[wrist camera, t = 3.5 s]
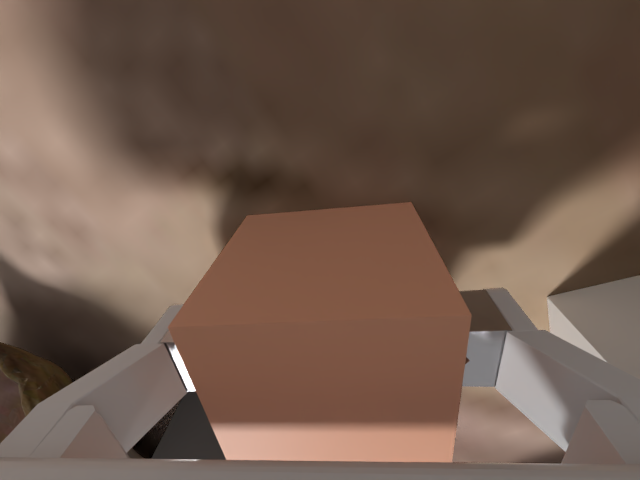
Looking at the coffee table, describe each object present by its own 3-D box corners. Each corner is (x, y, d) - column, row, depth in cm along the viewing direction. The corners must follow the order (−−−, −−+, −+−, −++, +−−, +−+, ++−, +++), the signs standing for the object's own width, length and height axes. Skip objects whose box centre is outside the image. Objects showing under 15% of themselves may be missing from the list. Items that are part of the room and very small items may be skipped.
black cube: (274, 355, 13) (236, 505, 8) (336, 424, 14) (332, 577, 10) (185, 391, 14) (112, 534, 10) (251, 449, 16) (215, 593, 11)
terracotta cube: (410, 201, 9) (472, 315, 5) (408, 328, 11) (448, 486, 7) (247, 214, 10) (167, 327, 5) (276, 333, 12) (236, 481, 8)
